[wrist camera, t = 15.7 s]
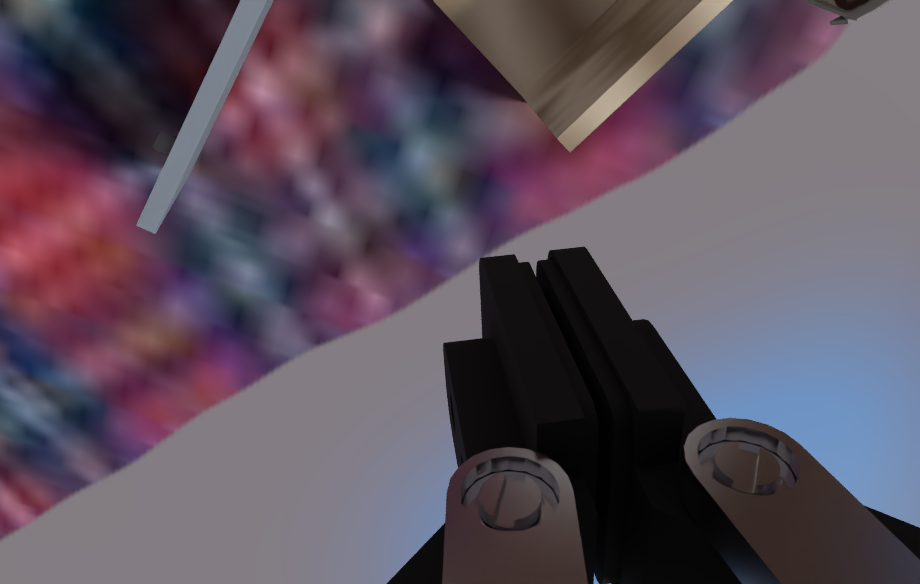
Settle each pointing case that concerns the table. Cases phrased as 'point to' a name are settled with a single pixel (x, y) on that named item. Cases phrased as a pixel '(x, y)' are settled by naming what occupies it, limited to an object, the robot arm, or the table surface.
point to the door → (202, 111)
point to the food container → (849, 8)
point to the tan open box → (579, 50)
